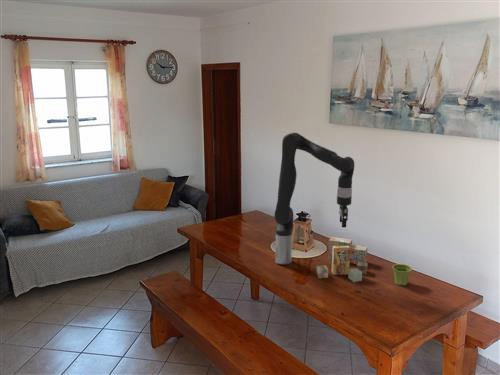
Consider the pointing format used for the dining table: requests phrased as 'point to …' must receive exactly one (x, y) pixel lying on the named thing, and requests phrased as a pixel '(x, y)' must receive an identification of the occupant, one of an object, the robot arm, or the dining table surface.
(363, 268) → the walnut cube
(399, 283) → the plant pot
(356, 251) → the stack of blocks
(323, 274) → the birch cube
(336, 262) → the candy box
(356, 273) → the sage cube
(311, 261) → the dining table surface
